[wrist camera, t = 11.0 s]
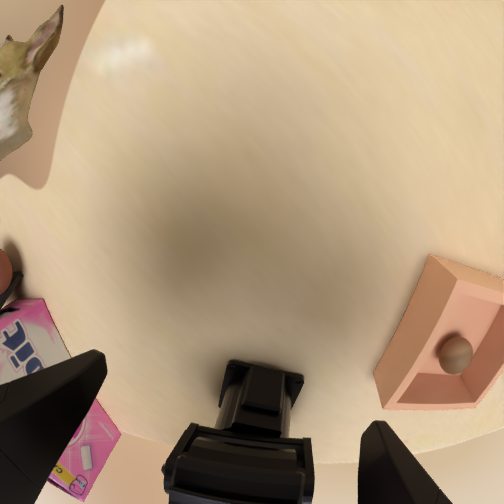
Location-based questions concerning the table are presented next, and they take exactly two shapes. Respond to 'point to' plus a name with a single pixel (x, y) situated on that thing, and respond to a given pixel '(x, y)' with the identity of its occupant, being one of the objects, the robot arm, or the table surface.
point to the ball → (455, 355)
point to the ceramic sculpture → (23, 80)
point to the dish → (444, 340)
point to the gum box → (42, 356)
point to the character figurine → (7, 278)
